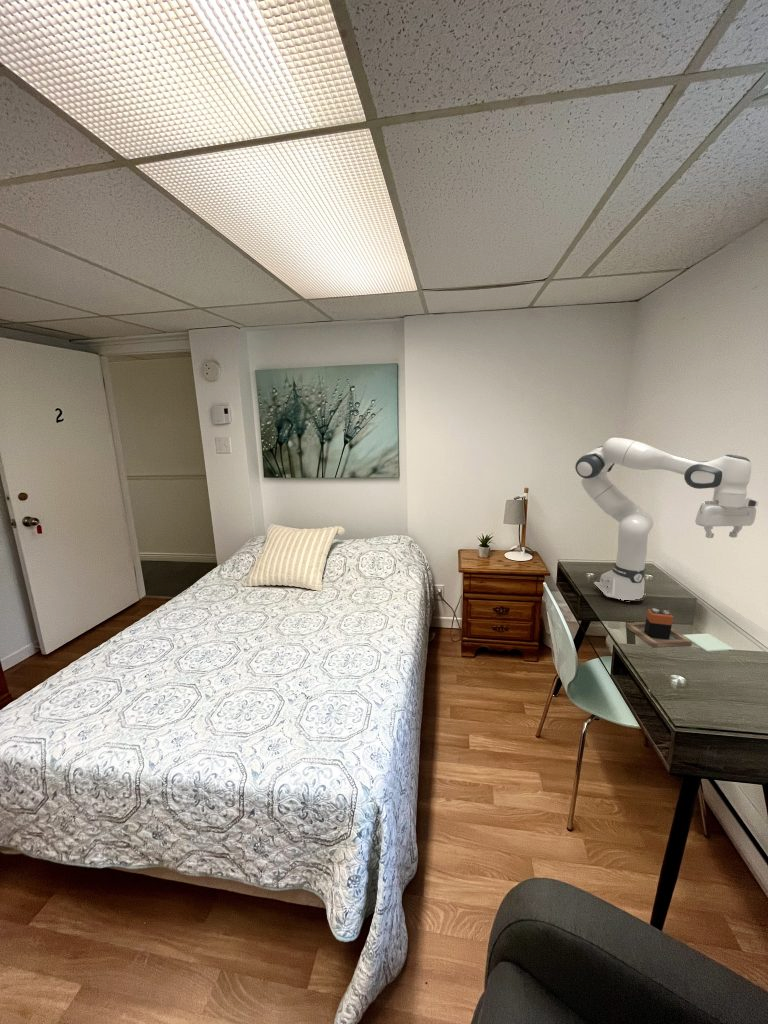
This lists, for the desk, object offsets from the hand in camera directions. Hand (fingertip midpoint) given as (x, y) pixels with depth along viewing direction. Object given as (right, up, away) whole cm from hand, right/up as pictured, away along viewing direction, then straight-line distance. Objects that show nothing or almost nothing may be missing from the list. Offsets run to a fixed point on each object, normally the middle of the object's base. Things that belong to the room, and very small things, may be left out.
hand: (721, 537), depth 144 cm
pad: (-11, -37, -7) cm, 39 cm away
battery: (-25, -36, -2) cm, 44 cm away
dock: (-25, -35, -2) cm, 44 cm away
